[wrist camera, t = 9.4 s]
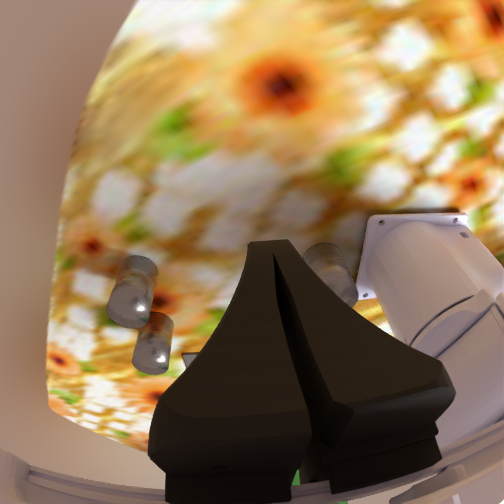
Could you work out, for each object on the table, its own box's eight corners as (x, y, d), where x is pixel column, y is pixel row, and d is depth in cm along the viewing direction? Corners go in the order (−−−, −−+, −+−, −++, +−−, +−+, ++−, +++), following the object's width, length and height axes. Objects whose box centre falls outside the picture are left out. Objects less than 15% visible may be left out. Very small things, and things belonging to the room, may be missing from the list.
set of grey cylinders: (343, 241, 24) (362, 281, 20) (329, 322, 29) (340, 362, 25) (117, 257, 23) (100, 298, 19) (145, 334, 28) (138, 374, 25)
